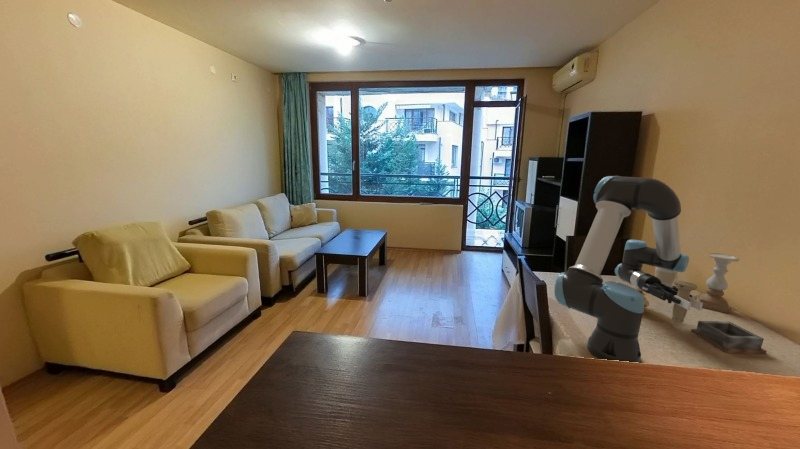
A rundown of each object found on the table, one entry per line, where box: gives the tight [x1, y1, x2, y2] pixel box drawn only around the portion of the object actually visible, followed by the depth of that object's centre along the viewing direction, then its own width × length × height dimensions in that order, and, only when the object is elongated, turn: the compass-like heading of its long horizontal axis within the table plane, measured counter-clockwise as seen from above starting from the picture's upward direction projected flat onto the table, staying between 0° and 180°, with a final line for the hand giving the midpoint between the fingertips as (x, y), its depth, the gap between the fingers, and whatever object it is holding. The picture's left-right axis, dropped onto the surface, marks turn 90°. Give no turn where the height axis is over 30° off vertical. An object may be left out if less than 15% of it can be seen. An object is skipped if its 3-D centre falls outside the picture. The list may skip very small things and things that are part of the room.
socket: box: [690, 320, 767, 354], centre depth 120 cm, size 14×14×5 cm
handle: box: [671, 280, 698, 324], centre depth 122 cm, size 5×6×15 cm
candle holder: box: [694, 252, 740, 314], centre depth 149 cm, size 11×11×24 cm
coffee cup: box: [654, 267, 677, 288], centre depth 169 cm, size 9×9×15 cm
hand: (695, 306), depth 116 cm, fingers closed on handle, 3 cm apart
